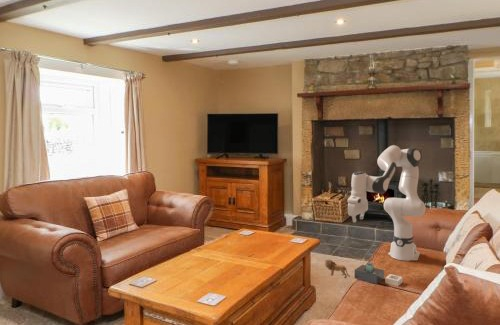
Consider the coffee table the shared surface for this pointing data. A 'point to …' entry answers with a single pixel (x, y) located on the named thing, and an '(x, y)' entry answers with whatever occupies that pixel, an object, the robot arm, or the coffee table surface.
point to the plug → (369, 267)
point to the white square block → (393, 280)
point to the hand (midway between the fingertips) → (358, 220)
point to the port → (369, 274)
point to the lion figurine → (335, 267)
